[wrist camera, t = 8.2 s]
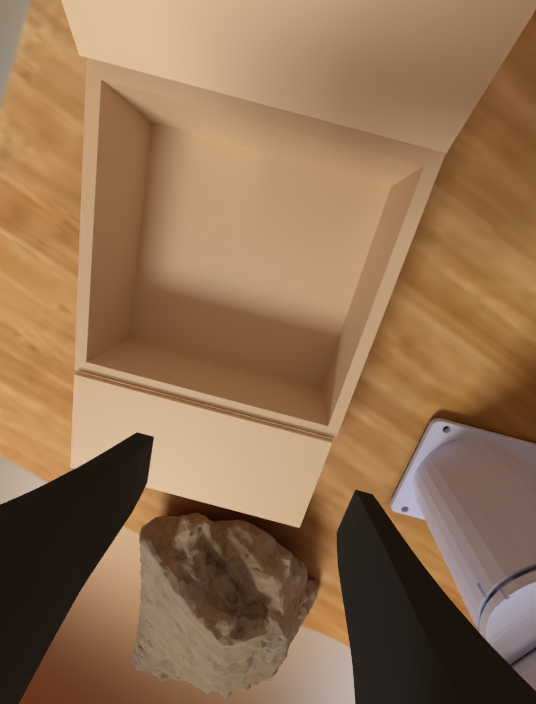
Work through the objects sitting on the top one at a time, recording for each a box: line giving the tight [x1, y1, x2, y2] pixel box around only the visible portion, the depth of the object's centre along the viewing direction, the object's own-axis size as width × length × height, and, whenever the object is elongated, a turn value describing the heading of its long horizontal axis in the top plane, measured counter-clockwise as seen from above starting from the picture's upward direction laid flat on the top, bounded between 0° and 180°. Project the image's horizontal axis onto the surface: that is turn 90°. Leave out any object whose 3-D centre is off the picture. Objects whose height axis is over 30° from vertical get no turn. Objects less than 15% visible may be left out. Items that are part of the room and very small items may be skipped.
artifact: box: [132, 513, 318, 699], centre depth 24 cm, size 18×7×15 cm
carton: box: [71, 58, 446, 528], centre depth 17 cm, size 14×19×5 cm
